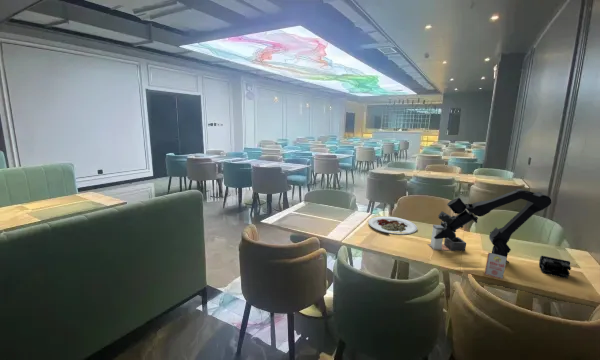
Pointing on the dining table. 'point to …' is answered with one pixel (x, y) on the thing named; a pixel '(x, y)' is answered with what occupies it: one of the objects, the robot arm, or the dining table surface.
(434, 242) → the plug
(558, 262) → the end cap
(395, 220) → the plated food
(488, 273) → the tea bag
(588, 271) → the dining table surface
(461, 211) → the robot arm
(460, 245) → the socket deck
